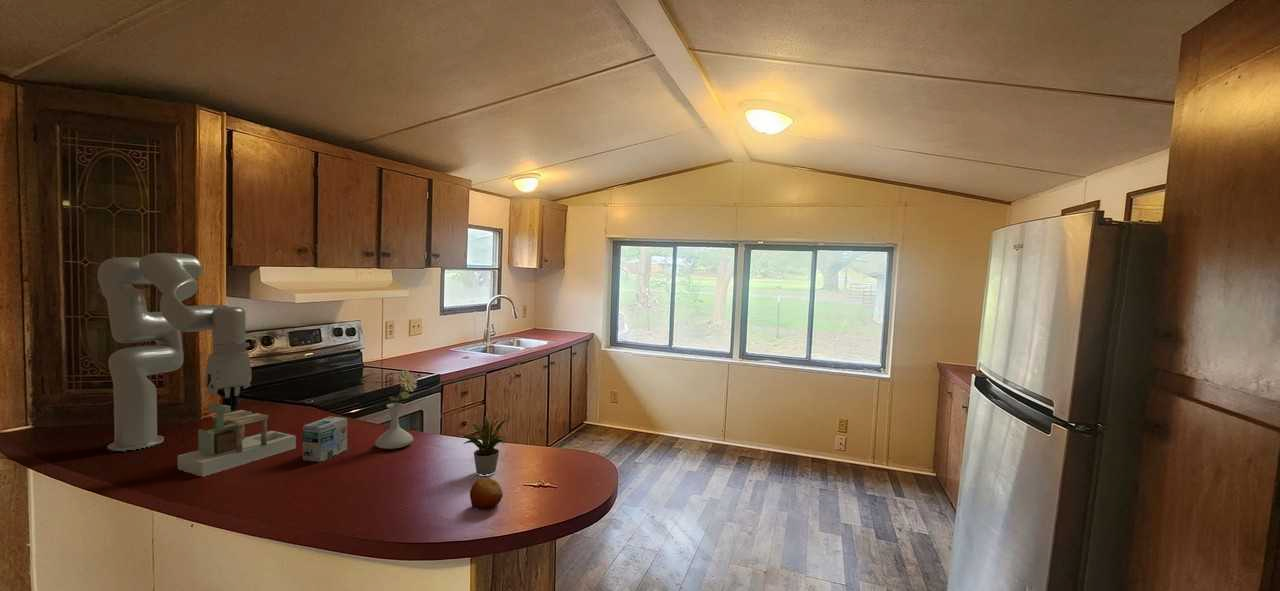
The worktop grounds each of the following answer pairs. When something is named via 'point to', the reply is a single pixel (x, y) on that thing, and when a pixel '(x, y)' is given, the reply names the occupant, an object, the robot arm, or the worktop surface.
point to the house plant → (486, 447)
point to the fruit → (485, 494)
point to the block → (224, 441)
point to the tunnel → (239, 420)
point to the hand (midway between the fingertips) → (229, 409)
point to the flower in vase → (395, 434)
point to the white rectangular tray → (236, 454)
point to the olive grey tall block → (208, 436)
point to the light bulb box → (324, 438)
